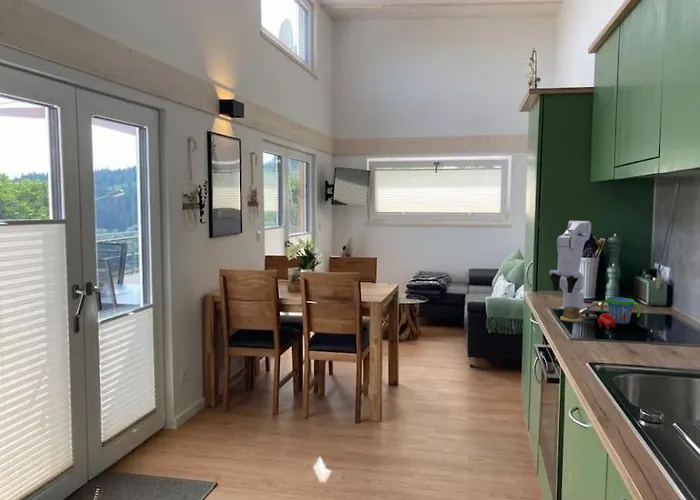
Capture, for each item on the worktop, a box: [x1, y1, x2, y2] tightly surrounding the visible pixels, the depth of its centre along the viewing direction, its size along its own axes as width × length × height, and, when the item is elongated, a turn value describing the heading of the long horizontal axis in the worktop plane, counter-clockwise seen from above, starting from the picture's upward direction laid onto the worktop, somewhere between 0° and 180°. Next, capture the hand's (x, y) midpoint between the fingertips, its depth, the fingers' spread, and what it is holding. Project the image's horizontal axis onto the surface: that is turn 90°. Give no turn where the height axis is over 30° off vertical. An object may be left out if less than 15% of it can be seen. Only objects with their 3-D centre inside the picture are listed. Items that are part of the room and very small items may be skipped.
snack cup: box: [600, 296, 641, 325], centre depth 239 cm, size 16×10×10 cm
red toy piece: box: [596, 312, 616, 330], centre depth 229 cm, size 8×6×6 cm
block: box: [563, 306, 580, 319], centre depth 243 cm, size 4×4×4 cm
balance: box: [559, 301, 608, 323], centre depth 248 cm, size 30×9×7 cm, turn 120°
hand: (562, 291), depth 255 cm, fingers open, 7 cm apart
